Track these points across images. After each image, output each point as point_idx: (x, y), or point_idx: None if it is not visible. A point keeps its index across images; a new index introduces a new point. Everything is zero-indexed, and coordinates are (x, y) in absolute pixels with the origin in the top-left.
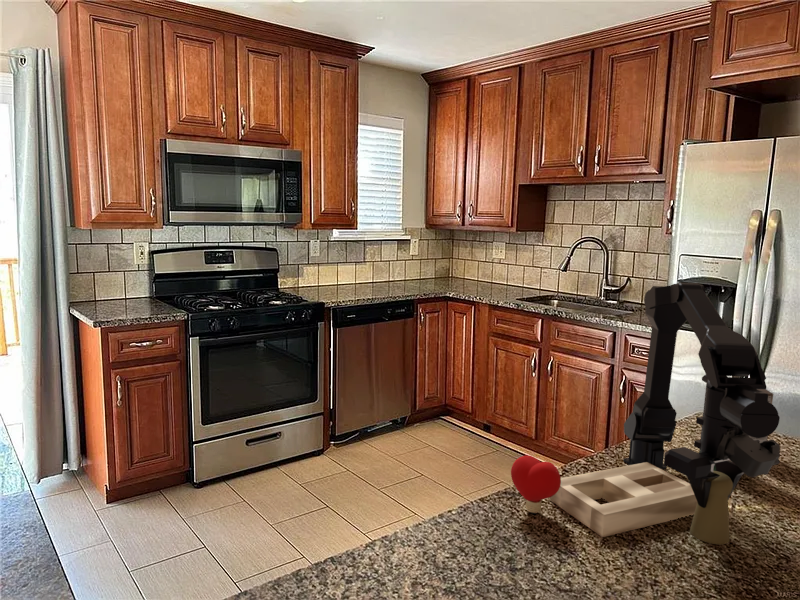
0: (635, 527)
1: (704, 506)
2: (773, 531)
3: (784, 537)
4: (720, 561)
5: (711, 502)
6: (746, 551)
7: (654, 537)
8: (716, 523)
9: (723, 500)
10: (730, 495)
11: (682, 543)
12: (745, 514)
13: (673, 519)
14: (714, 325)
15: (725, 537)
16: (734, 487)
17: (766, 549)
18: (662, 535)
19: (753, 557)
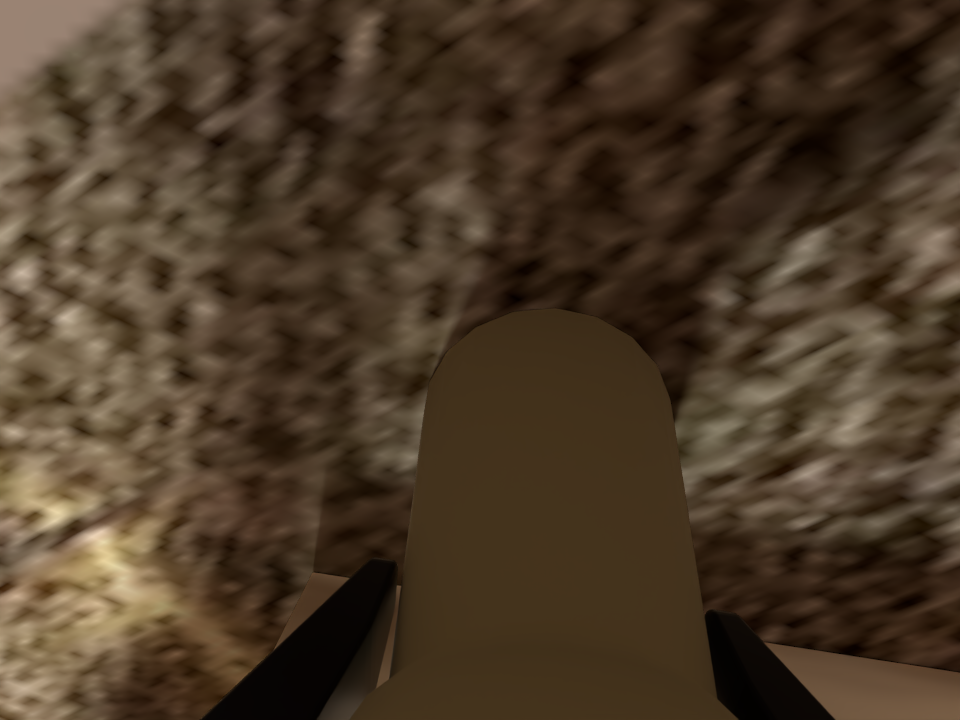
0: (899, 672)
1: (743, 624)
2: (66, 237)
3: (54, 145)
4: (864, 183)
5: (702, 636)
6: (524, 170)
7: (900, 569)
8: (646, 431)
9: (597, 594)
10: (321, 609)
11: (825, 452)
12: (77, 446)
13: None
14: None
15: (564, 330)
16: (233, 699)
17: (347, 108)
18: (828, 558)
19: (564, 86)
